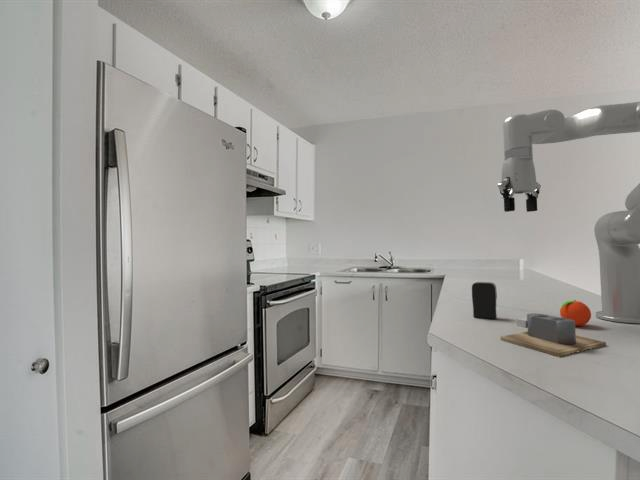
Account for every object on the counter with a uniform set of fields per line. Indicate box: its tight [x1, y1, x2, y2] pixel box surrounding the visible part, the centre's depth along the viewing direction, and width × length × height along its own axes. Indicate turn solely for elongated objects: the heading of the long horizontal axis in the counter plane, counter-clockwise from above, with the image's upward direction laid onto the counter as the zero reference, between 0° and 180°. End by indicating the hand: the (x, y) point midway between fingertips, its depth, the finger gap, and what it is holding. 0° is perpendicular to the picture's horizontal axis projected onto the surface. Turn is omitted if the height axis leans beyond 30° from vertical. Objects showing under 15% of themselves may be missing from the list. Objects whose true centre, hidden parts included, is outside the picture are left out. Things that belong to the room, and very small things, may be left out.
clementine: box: [559, 299, 592, 327], centre depth 92 cm, size 8×7×7 cm
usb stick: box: [516, 312, 577, 345], centre depth 80 cm, size 13×4×5 cm, turn 21°
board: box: [500, 331, 607, 357], centre depth 79 cm, size 16×14×1 cm
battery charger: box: [471, 281, 498, 320], centre depth 106 cm, size 7×4×11 cm, turn 53°
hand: (520, 211), depth 103 cm, fingers open, 9 cm apart
